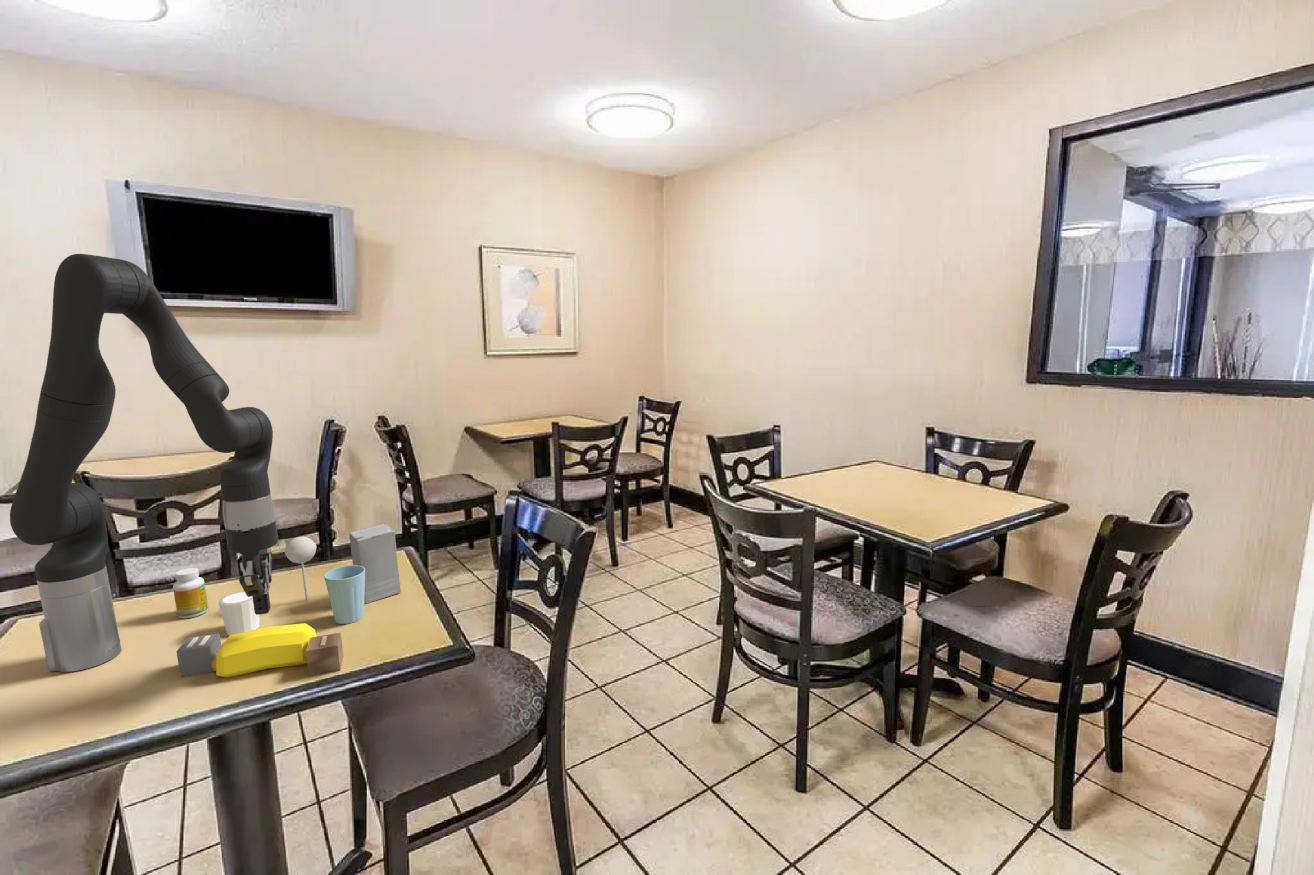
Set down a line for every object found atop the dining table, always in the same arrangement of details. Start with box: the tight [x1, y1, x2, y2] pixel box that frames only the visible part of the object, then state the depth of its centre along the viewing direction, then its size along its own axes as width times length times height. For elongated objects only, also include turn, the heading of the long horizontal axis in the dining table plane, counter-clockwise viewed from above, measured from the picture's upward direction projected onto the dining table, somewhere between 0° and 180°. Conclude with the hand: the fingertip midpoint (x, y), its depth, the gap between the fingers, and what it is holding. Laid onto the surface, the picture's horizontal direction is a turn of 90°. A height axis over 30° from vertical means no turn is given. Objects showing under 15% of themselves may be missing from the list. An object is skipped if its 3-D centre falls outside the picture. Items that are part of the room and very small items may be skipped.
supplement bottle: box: [172, 567, 209, 619], centre depth 131 cm, size 5×5×10 cm
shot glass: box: [217, 590, 260, 636], centre depth 125 cm, size 7×7×7 cm
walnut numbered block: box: [306, 632, 344, 677], centre depth 111 cm, size 5×5×5 cm
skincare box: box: [348, 523, 402, 605], centre depth 139 cm, size 8×7×16 cm
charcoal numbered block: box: [176, 633, 222, 678], centre depth 111 cm, size 5×5×5 cm
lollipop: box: [284, 536, 317, 602], centre depth 137 cm, size 6×6×15 cm
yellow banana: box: [211, 622, 317, 678], centre depth 112 cm, size 18×7×8 cm
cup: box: [323, 564, 365, 625], centre depth 129 cm, size 8×8×10 cm
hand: (262, 612), depth 111 cm, fingers closed
